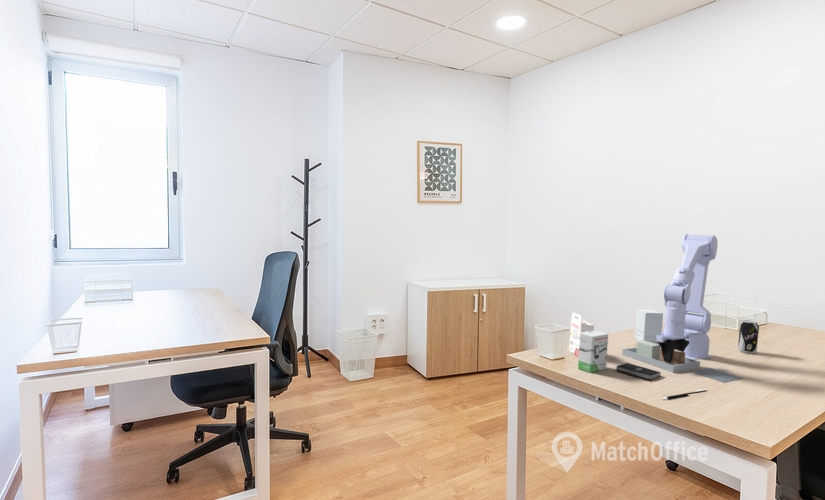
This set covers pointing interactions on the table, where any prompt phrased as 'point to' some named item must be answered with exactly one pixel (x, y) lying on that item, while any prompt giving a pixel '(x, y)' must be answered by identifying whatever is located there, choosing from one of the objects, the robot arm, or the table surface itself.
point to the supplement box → (648, 325)
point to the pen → (683, 395)
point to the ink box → (593, 351)
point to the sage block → (648, 349)
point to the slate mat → (717, 375)
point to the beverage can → (748, 336)
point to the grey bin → (687, 365)
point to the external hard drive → (638, 371)
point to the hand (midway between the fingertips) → (672, 361)
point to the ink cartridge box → (577, 332)
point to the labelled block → (675, 357)
